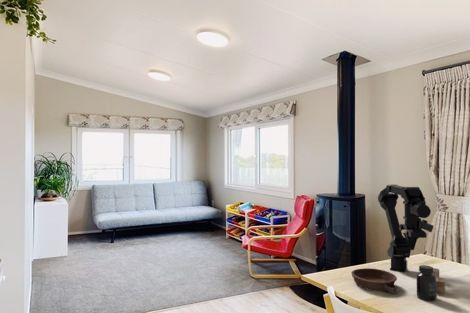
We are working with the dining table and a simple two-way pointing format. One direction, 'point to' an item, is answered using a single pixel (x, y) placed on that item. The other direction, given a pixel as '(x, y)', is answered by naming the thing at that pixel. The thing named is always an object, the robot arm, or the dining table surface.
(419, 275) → the supplement bottle
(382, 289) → the dish
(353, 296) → the dining table surface
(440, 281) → the walnut block near bottle
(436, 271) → the walnut block far
